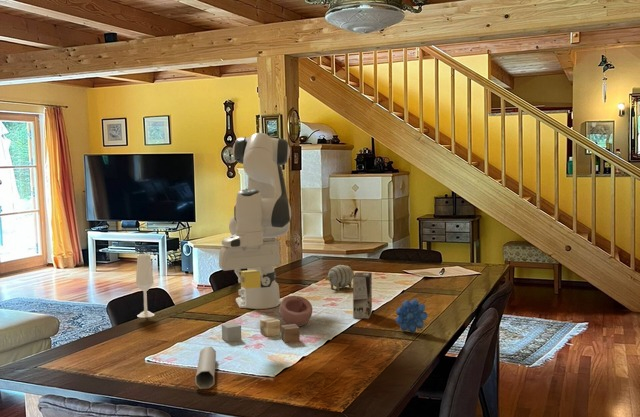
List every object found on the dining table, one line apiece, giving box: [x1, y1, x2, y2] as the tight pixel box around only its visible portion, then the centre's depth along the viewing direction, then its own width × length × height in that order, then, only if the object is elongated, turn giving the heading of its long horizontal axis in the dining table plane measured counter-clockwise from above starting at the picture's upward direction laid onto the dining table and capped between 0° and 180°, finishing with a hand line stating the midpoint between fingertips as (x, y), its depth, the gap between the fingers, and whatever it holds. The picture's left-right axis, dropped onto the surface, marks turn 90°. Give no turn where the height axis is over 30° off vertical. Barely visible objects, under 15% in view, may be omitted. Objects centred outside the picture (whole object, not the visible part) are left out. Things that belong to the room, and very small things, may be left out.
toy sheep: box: [324, 264, 355, 291], centre depth 294 cm, size 11×17×11 cm, turn 134°
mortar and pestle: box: [278, 295, 313, 327], centre depth 230 cm, size 12×12×11 cm
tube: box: [194, 346, 217, 390], centre depth 182 cm, size 5×5×25 cm
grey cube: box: [221, 322, 242, 343], centre depth 215 cm, size 5×5×5 cm
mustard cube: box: [240, 270, 261, 289], centre depth 207 cm, size 5×5×5 cm
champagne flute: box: [135, 253, 155, 318], centre depth 248 cm, size 7×7×24 cm
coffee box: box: [352, 272, 373, 319], centre depth 244 cm, size 9×6×16 cm
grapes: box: [395, 298, 428, 334], centre depth 221 cm, size 12×7×12 cm, turn 62°
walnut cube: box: [280, 324, 301, 345], centre depth 212 cm, size 5×5×5 cm
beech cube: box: [259, 317, 281, 338], centre depth 221 cm, size 5×5×5 cm
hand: (250, 281), depth 207 cm, fingers closed on mustard cube, 5 cm apart
